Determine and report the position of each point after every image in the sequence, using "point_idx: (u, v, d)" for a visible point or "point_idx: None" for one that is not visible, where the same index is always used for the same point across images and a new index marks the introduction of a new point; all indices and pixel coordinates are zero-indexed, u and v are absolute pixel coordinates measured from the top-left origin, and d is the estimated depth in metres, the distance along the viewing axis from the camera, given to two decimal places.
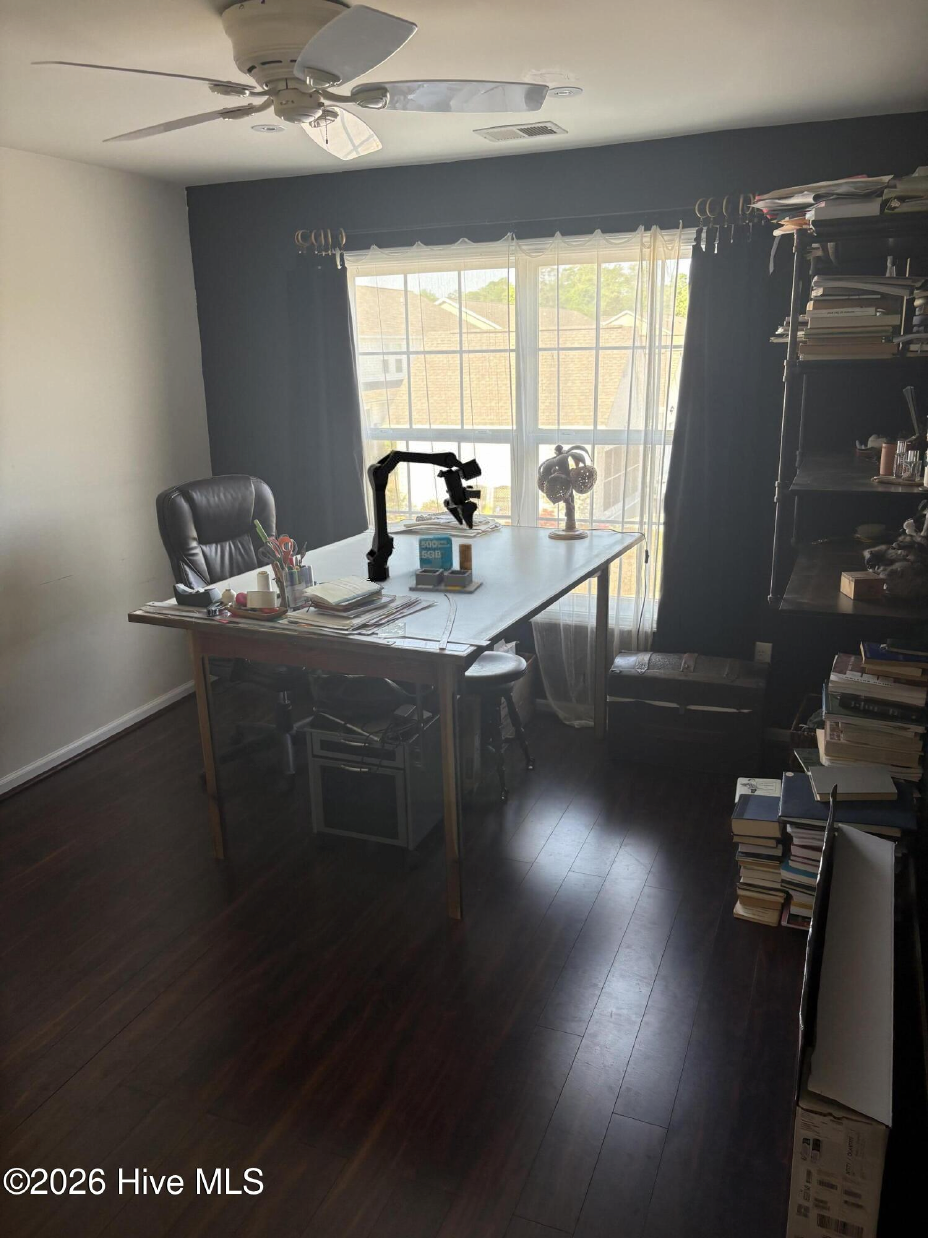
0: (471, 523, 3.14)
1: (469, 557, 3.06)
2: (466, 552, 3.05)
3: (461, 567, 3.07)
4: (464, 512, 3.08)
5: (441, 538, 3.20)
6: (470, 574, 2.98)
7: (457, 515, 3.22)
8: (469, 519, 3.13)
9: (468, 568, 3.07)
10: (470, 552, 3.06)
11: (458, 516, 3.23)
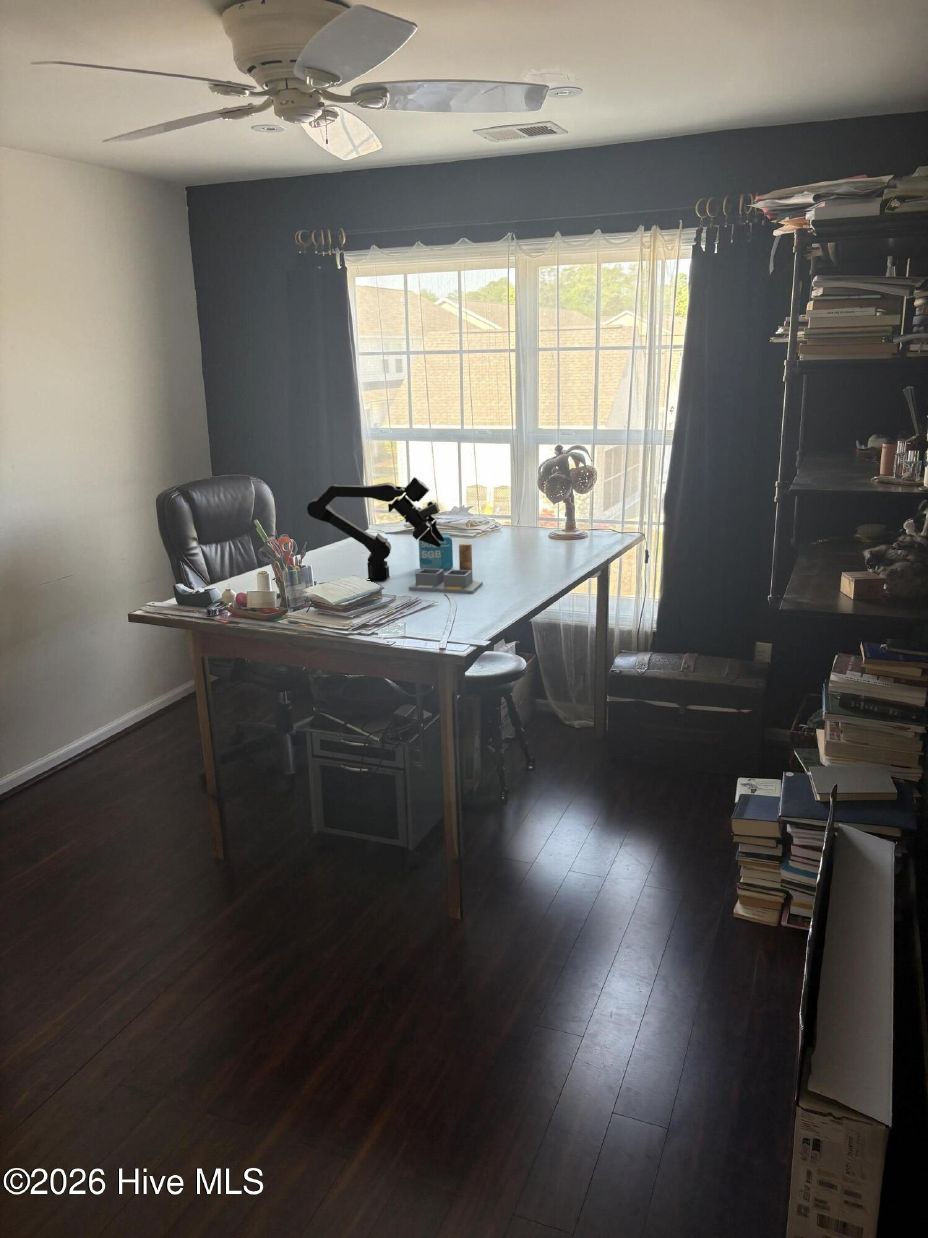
0: (436, 541, 3.02)
1: (469, 557, 3.06)
2: (466, 552, 3.05)
3: (461, 567, 3.07)
4: (417, 537, 2.98)
5: None
6: (470, 574, 2.98)
7: (434, 534, 3.12)
8: (431, 539, 3.01)
9: (468, 568, 3.07)
10: (470, 552, 3.06)
11: (436, 534, 3.11)
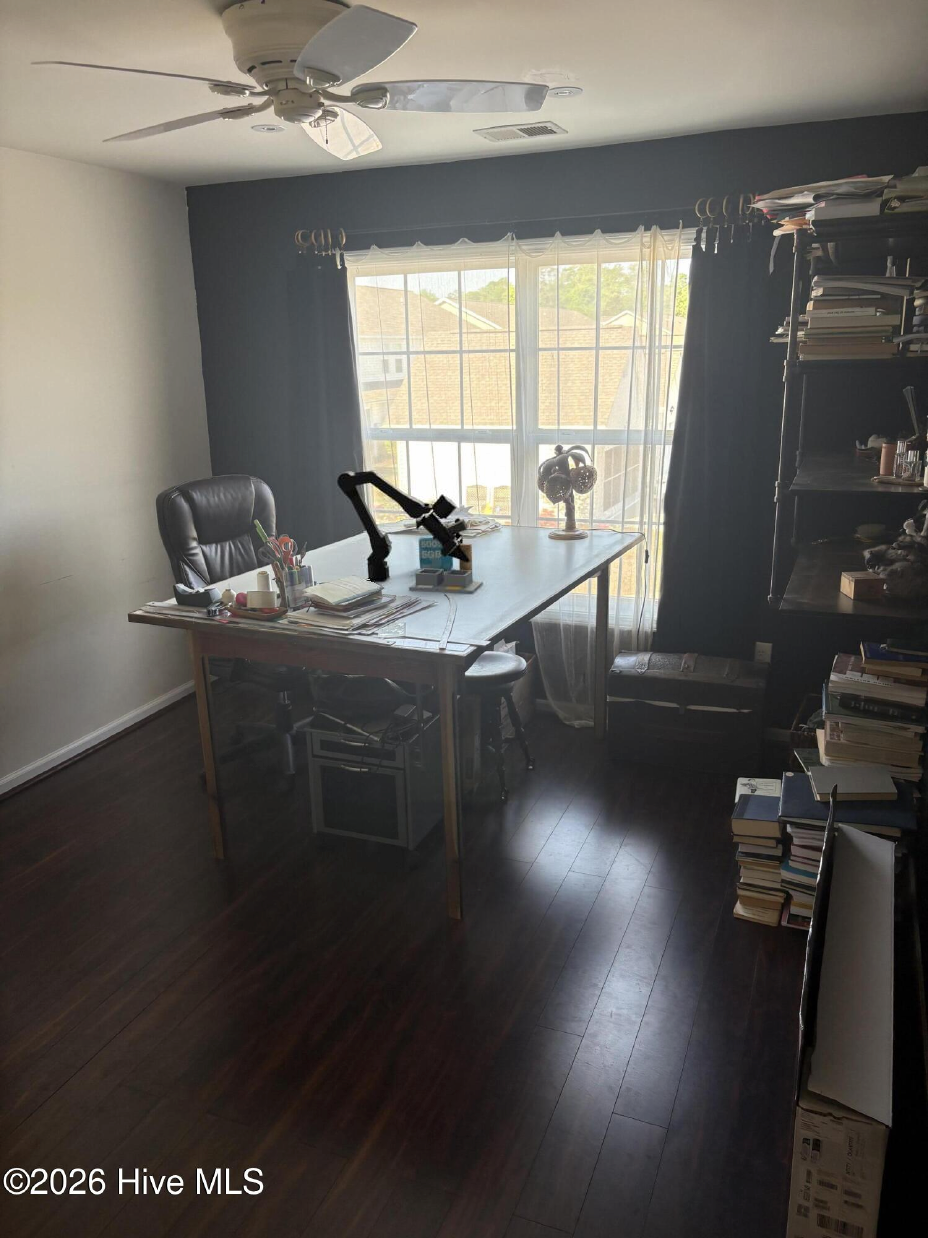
0: (465, 557, 3.05)
1: (469, 557, 3.06)
2: (466, 552, 3.05)
3: (461, 567, 3.07)
4: (445, 554, 2.99)
5: None
6: (470, 574, 2.98)
7: None
8: (460, 554, 3.04)
9: (468, 568, 3.07)
10: (470, 552, 3.06)
11: None
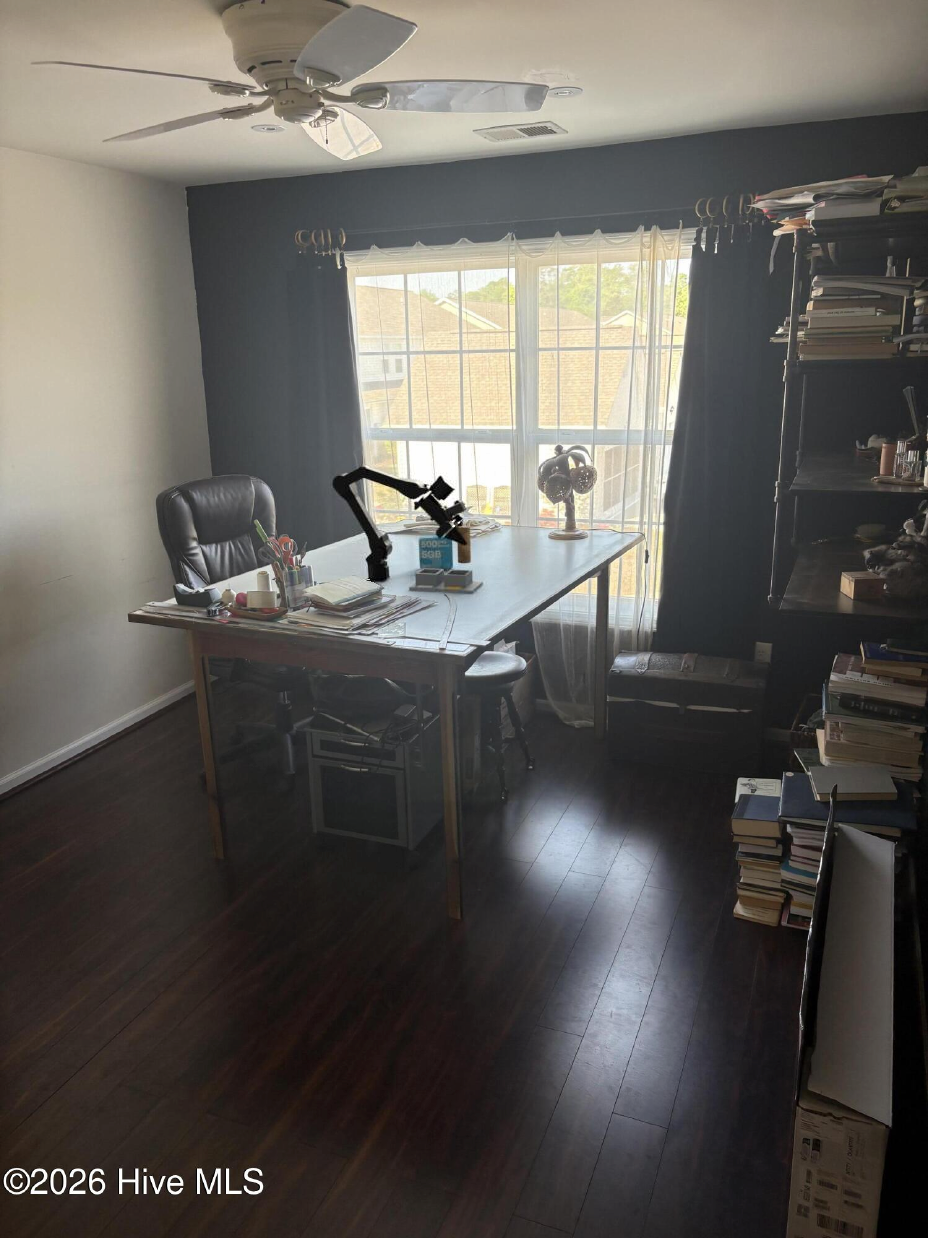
0: (462, 539, 2.99)
1: (467, 540, 3.00)
2: (464, 534, 2.99)
3: (459, 550, 3.01)
4: (440, 536, 2.94)
5: (441, 538, 3.20)
6: (470, 574, 2.98)
7: None
8: (457, 537, 2.98)
9: (466, 551, 3.01)
10: (468, 535, 3.00)
11: None
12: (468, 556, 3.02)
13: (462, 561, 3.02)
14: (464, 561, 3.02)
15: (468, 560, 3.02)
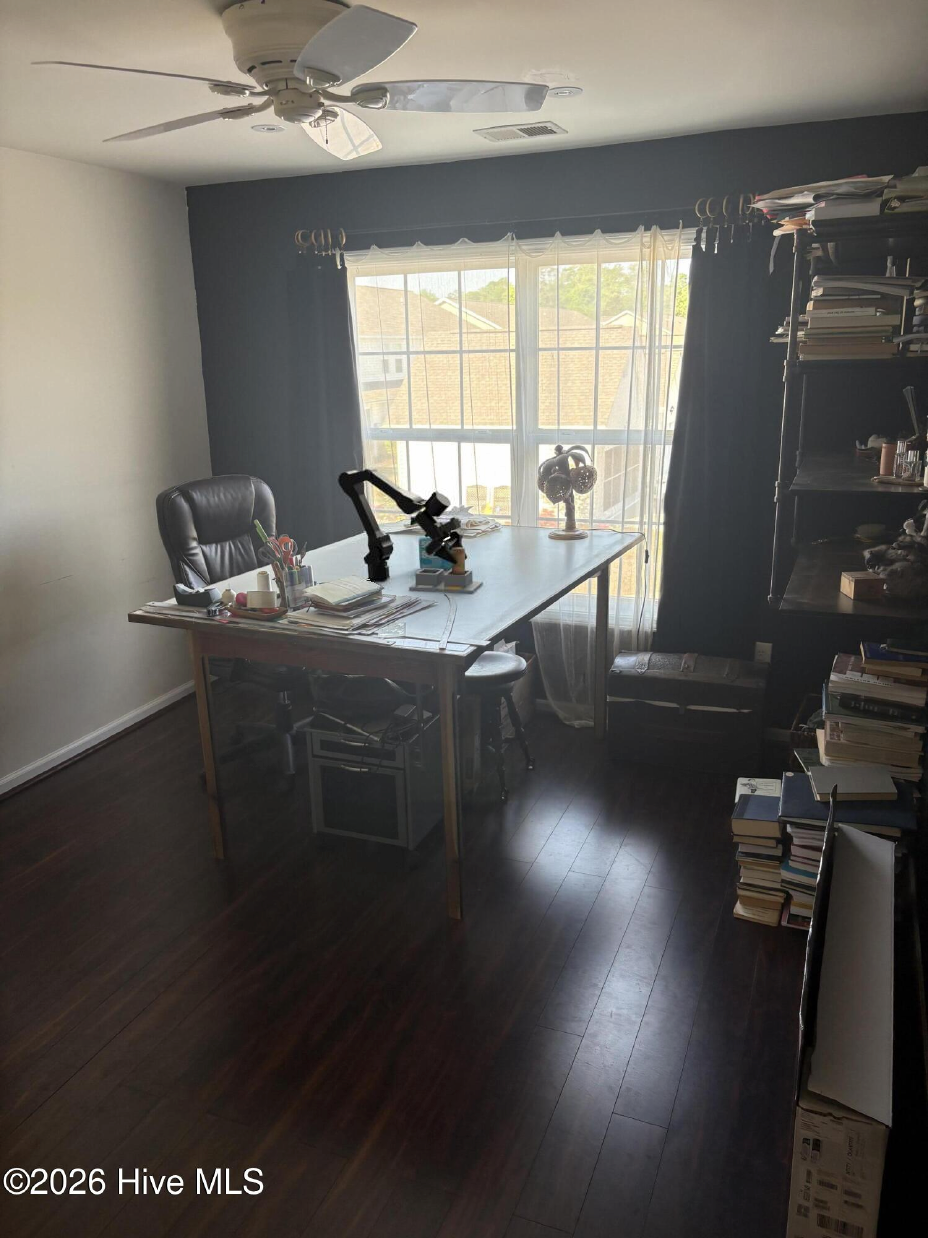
0: (451, 558, 2.92)
1: (460, 562, 2.95)
2: (457, 556, 2.94)
3: (452, 571, 2.96)
4: (428, 553, 2.90)
5: None
6: (470, 574, 2.98)
7: None
8: (447, 555, 2.92)
9: (459, 573, 2.95)
10: (461, 557, 2.94)
11: None
12: None
13: None
14: None
15: None
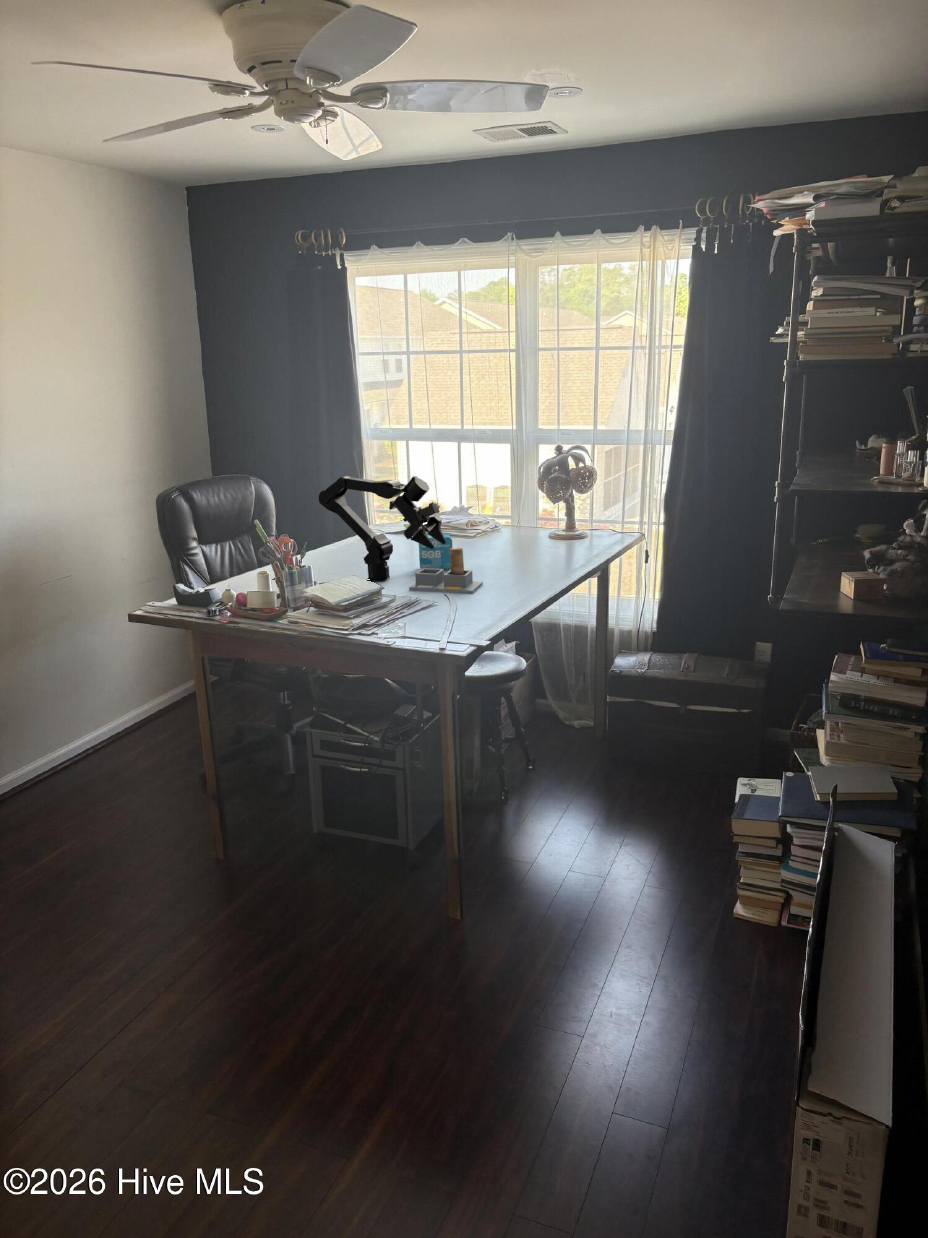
0: (428, 543, 2.93)
1: (458, 562, 2.94)
2: (455, 556, 2.94)
3: (451, 572, 2.96)
4: (407, 537, 2.92)
5: None
6: (470, 574, 2.98)
7: (437, 536, 3.03)
8: (424, 540, 2.93)
9: (458, 574, 2.95)
10: (459, 557, 2.94)
11: (438, 536, 3.03)
12: None
13: None
14: None
15: None
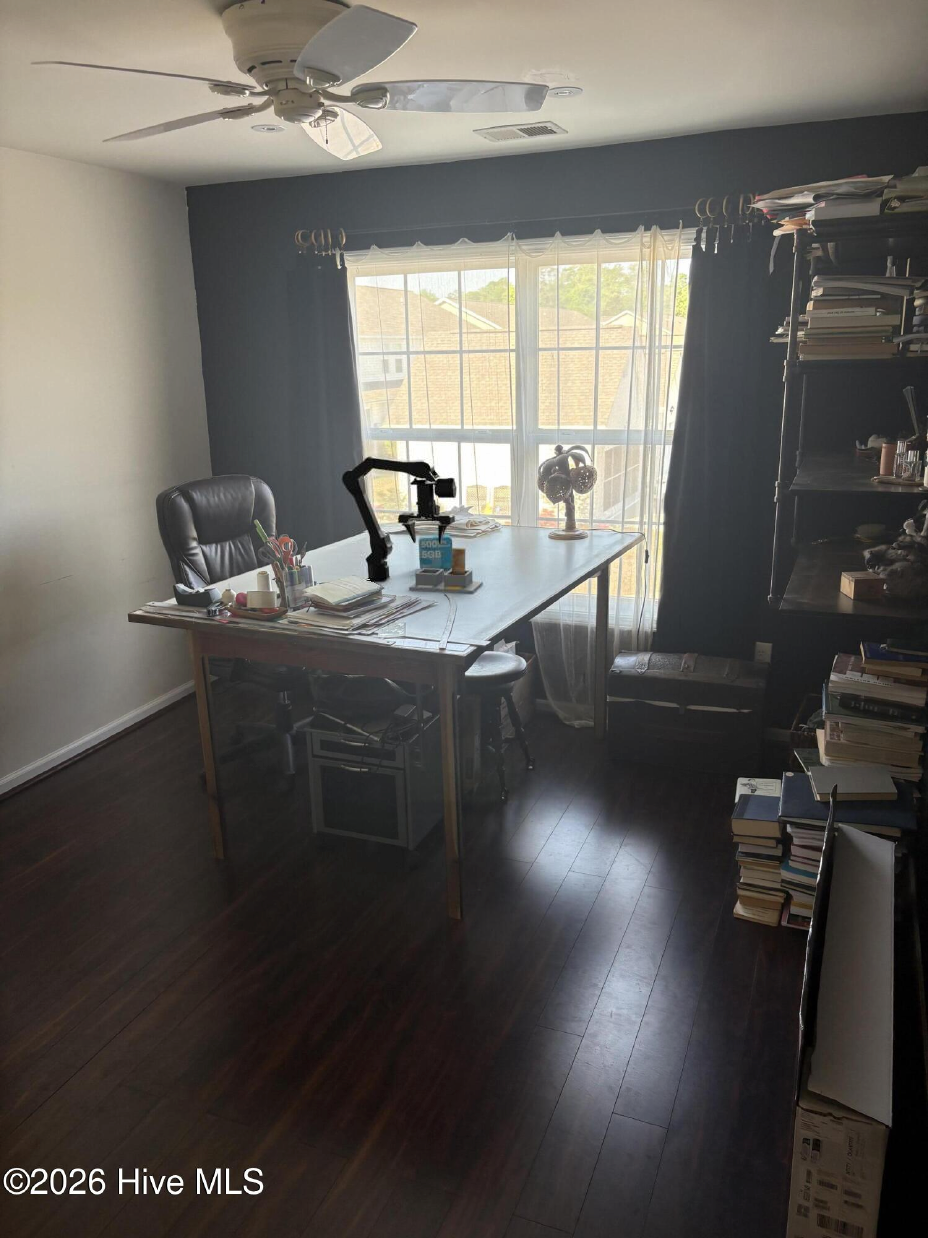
0: (442, 537, 3.03)
1: (460, 562, 2.94)
2: (457, 556, 2.94)
3: (452, 571, 2.96)
4: (450, 522, 2.98)
5: None
6: (470, 574, 2.98)
7: (413, 532, 3.05)
8: (442, 532, 3.02)
9: (458, 573, 2.95)
10: (462, 557, 2.94)
11: (413, 533, 3.05)
12: None
13: None
14: None
15: None
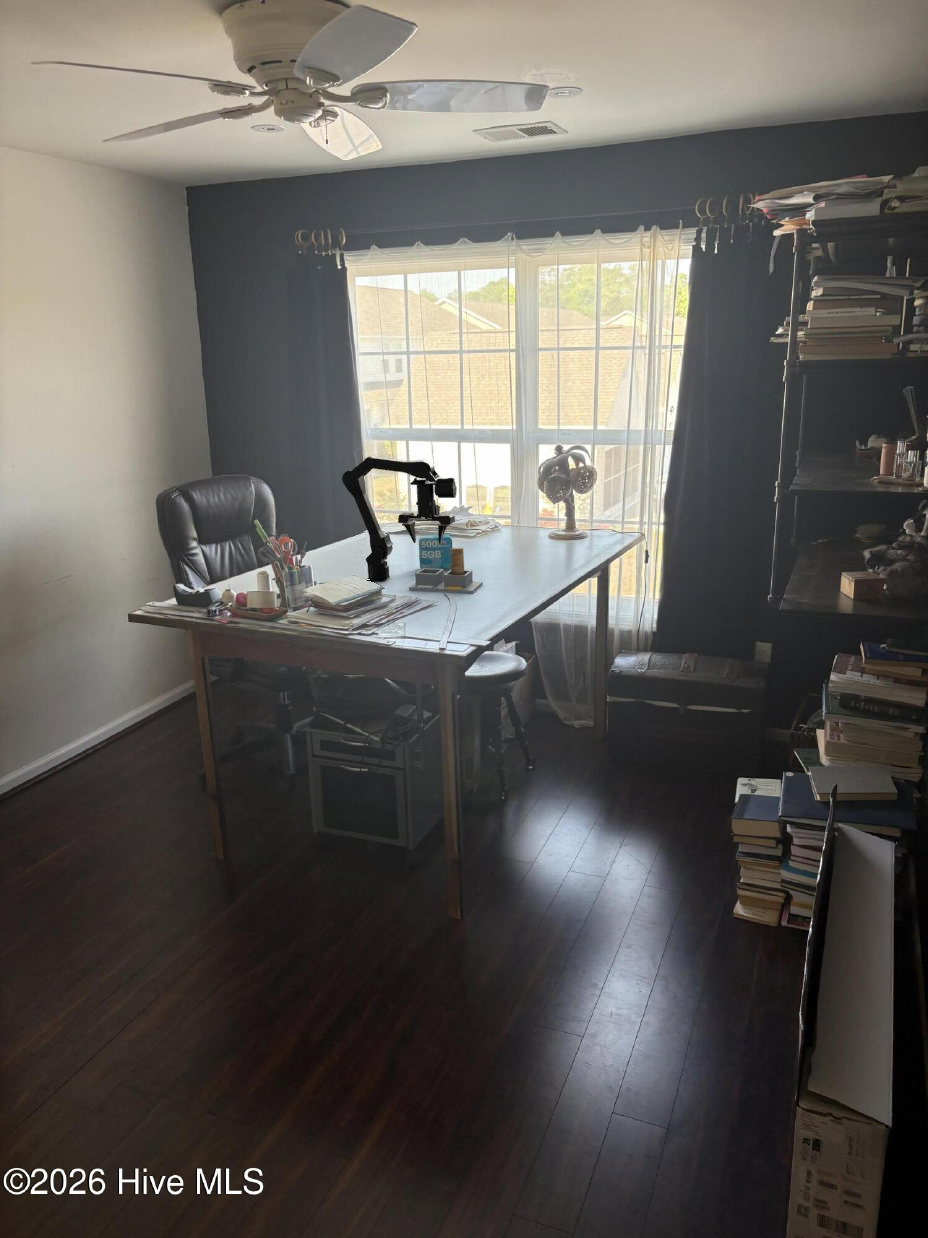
0: (442, 537, 3.03)
1: (458, 562, 2.94)
2: (455, 556, 2.94)
3: (451, 572, 2.97)
4: (450, 522, 2.98)
5: None
6: (470, 574, 2.98)
7: (413, 532, 3.05)
8: (442, 532, 3.02)
9: (458, 573, 2.95)
10: (460, 557, 2.94)
11: (413, 533, 3.05)
12: None
13: None
14: None
15: None
